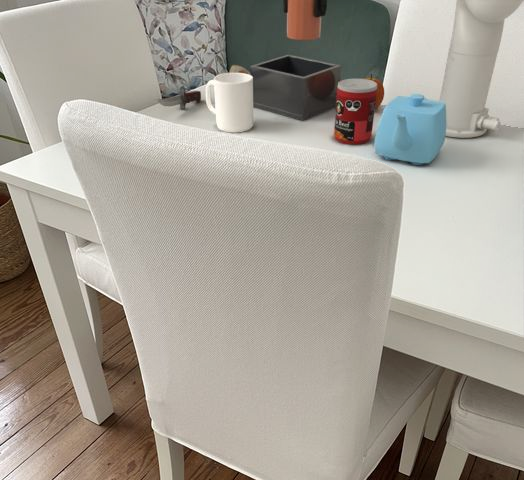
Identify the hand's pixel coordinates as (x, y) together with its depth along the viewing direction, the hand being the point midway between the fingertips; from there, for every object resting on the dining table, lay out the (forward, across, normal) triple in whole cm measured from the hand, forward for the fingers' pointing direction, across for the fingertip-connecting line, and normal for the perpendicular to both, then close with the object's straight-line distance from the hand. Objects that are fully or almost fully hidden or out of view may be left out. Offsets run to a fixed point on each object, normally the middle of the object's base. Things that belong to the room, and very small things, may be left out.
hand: (304, 13), depth 114 cm
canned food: (+22, -14, +1) cm, 26 cm away
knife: (+22, +27, +11) cm, 37 cm away
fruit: (+22, -7, -18) cm, 29 cm away
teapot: (+22, -28, +3) cm, 36 cm away
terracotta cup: (+4, 0, 0) cm, 4 cm away
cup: (+22, +12, +11) cm, 27 cm away
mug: (+22, +23, -8) cm, 33 cm away
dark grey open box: (+22, +8, -9) cm, 25 cm away
